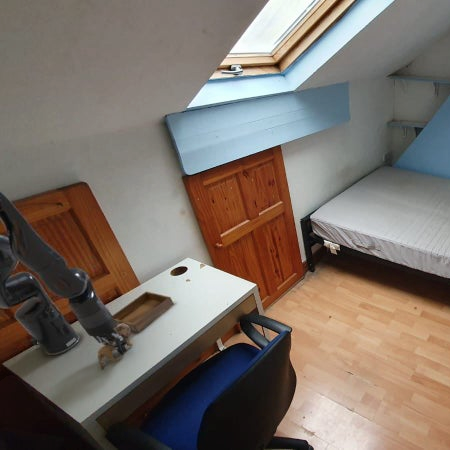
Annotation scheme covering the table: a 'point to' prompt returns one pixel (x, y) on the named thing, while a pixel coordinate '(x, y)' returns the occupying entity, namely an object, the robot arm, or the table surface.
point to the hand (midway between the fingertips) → (118, 351)
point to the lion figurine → (108, 348)
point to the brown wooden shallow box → (143, 311)
